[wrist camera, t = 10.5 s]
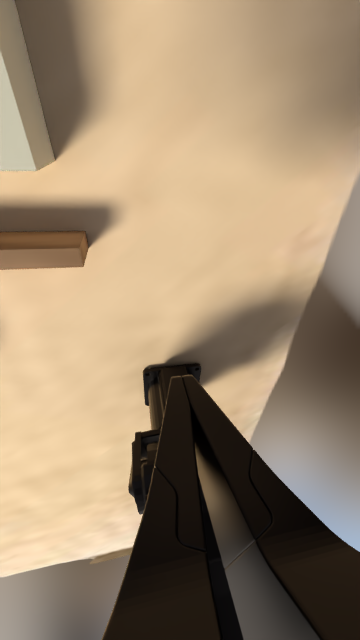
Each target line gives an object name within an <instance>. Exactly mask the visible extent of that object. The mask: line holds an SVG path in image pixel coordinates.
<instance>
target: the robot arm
mask: <svg viewBox="0 0 360 640" xmlns="http://www.w3.org/2000/svg"><path fill="white" fill-rule="evenodd" d="M200 373H201V366H200V364H187V365H178V366H169V367H160V368H151V369H145V370H144V371H143V380H144V395H145V405H147V406H149V409H150V419H151V430H150V431H145V432H141V431H140V432H136V433H135V441H134V442H133V443H132V466H131V473H130V479H129V493H130V494H131V495H132V496H133V497H134V498H135V502H136V504H137V509H138V512H139V514H143V516H142V519H141V523H140V526H139V529H138V532H137V536H136V539H135V542H134V545H133V549H132V552H131V555H130V559H129V562H128V565H127V568H126V571H125V575H124V578H123V581H122V585H121V587H120V590H119V593H118V597H117V599H116V602H115V605H114V608H113V610H112V613H111V616H110V619H109V622H108V624H107V627H106V629H105V632H104V635H103V637H102V640H360V552H359V551H357V550H355V549H354V548H353V547H351V546H350V545H348V544H347V543H346V542H344V541H343V540H342V539H340V538H339V537H338V536H337V535H336V534H334V533H333V532H332V531H331V530H330V529H329V528H328V527H327V526H326V525H325V524H324V523H323V522H322V521H321V520H320V519H319V518H318V517H317V516H316V515H315V514H314V513H313V512H312V511H311V510H310V509H309V508H308V507H307V506H306V505H305V504H304V503H303V502H302V501H301V500H300V499H299V498H298V497H297V496H296V495H295V494H294V493H293V492H292V491H291V490H290V489H289V488H288V487H287V486H286V485H285V484H284V483H283V482H282V481H281V480H280V479H279V478H278V477H277V476H276V474H275V473H274V472H273V471H272V470H271V469H270V468H269V467H268V465H267V464H266V463H265V462H264V461H263V460H262V458H261V457H260V456H259V455H258V454H257V452H256V451H255V450H253V448H252V446H251V445H250V444H249V443H248V442H247V440H246V439H245V438H244V437H243V436H242V434H241V433H240V432H239V431H238V430H237V428H236V427H235V426H234V425H233V423H232V422H231V421H230V420H229V419H228V417H227V416H226V415H225V414H224V413H223V411H222V410H221V409H220V408H219V407H218V405H217V404H216V403H215V402H214V401H213V399H212V398H211V397H210V396H209V395H208V393H207V392H206V391H205V390H204V388H203V387H202V386H201V385H200V384H199V379H200Z"/></svg>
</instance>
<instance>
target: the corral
mask: <svg viewBox="0 0 360 640" xmlns="http://www.w3.org/2000/svg"><path fill="white" fill-rule="evenodd" d="M87 252H88V243H87V238H86V232H85V231H62V232H0V270H7V269H37V268H66V267H83V266H84V263H85V259H86V255H87Z"/></svg>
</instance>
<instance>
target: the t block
mask: <svg viewBox="0 0 360 640" xmlns="http://www.w3.org/2000/svg"><path fill="white" fill-rule="evenodd" d="M54 161H55V158H54V154H53V150H52V146H51V142H50V138H49V134H48V130H47V127H46V123H45V119H44V115H43V111H42V107H41V103H40V99H39V95H38V91H37V87H36V83H35V79H34V75H33V71H32V67H31V63H30V59H29V55H28V51H27V47H26V43H25V39H24V35H23V31H22V27H21V23H20V19H19V16H18V12H17V8H16V4H15V0H0V171H37V170H39V169H41V168H43V167H45V166H47V165H49V164H51V163H52V162H54Z"/></svg>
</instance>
